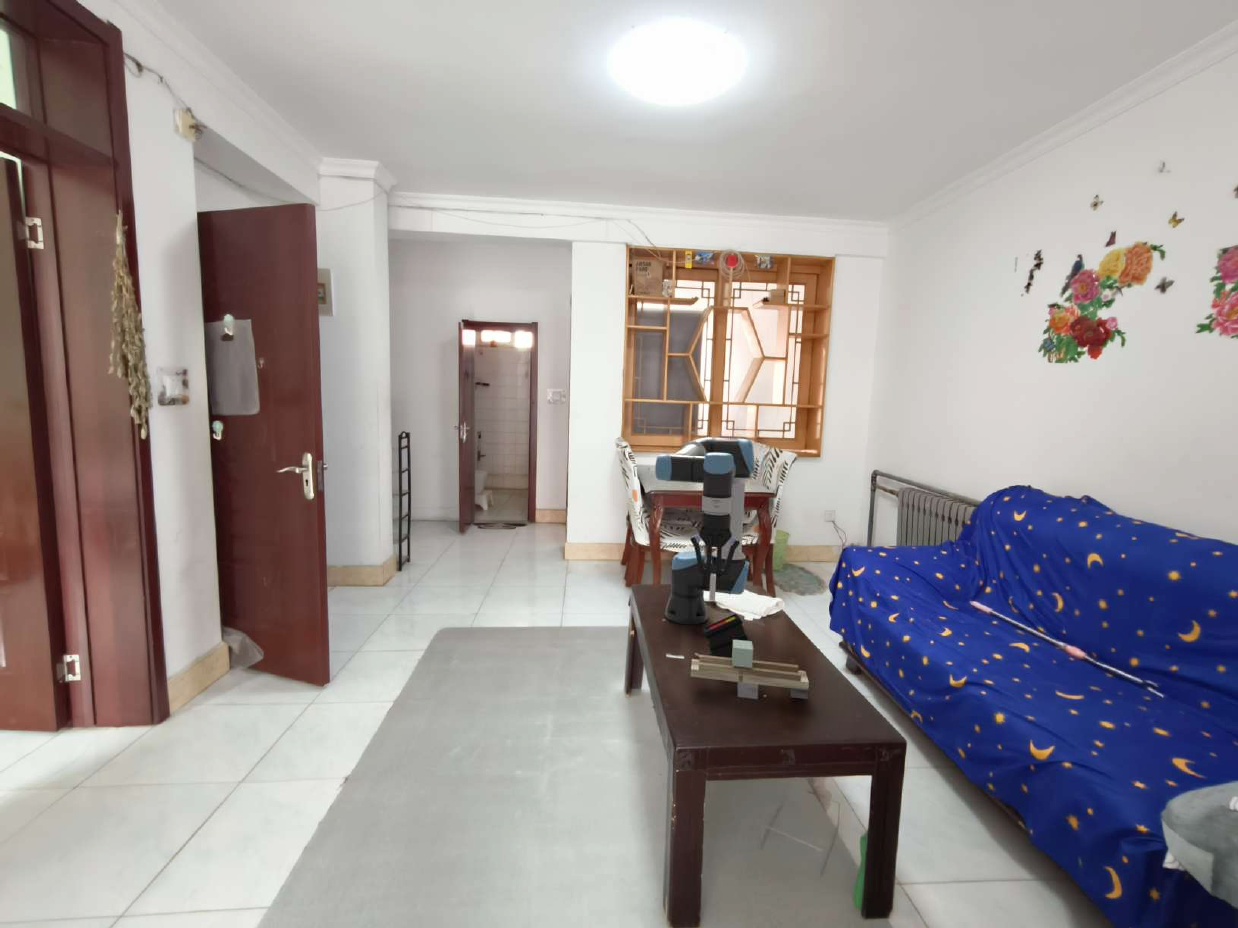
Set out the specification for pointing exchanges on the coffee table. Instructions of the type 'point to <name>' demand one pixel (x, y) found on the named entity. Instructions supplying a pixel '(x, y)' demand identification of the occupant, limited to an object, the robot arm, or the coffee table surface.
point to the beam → (752, 675)
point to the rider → (742, 653)
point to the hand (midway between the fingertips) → (712, 598)
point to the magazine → (724, 635)
